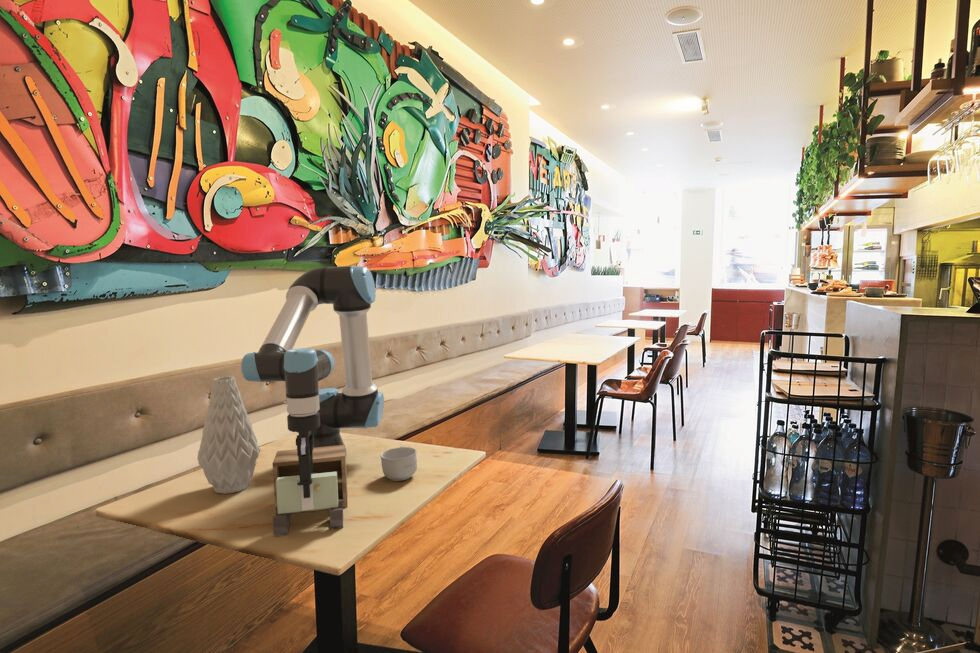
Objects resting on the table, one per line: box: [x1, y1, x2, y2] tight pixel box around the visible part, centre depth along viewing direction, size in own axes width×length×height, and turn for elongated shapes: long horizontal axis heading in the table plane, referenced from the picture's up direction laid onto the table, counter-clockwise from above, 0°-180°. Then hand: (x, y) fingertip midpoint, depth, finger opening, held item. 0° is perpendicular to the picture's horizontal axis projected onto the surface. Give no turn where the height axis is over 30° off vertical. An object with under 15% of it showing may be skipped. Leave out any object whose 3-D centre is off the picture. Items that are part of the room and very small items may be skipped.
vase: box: [197, 376, 261, 495], centre depth 161 cm, size 17×17×33 cm
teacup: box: [380, 445, 418, 482], centre depth 170 cm, size 14×11×8 cm
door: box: [276, 471, 338, 514], centre depth 136 cm, size 4×14×8 cm, turn 104°
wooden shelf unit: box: [272, 444, 348, 537], centre depth 144 cm, size 22×18×14 cm
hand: (308, 506), depth 137 cm, fingers closed on door, 3 cm apart
